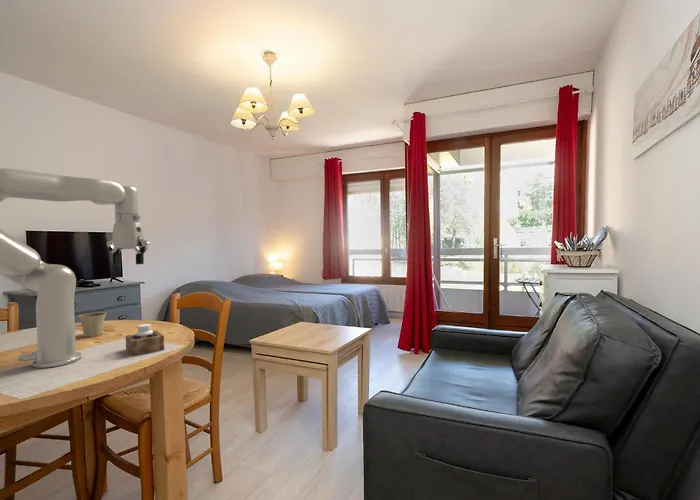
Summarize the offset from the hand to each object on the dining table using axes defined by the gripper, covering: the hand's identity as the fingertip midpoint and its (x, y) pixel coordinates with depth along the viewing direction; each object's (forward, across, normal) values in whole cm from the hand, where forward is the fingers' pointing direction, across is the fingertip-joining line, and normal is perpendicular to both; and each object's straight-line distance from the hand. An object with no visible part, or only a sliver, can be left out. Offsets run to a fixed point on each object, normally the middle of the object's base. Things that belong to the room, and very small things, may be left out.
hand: (128, 264), depth 135 cm
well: (+30, -12, +7) cm, 33 cm away
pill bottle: (+31, -12, +7) cm, 33 cm away
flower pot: (+31, +25, -8) cm, 40 cm away
